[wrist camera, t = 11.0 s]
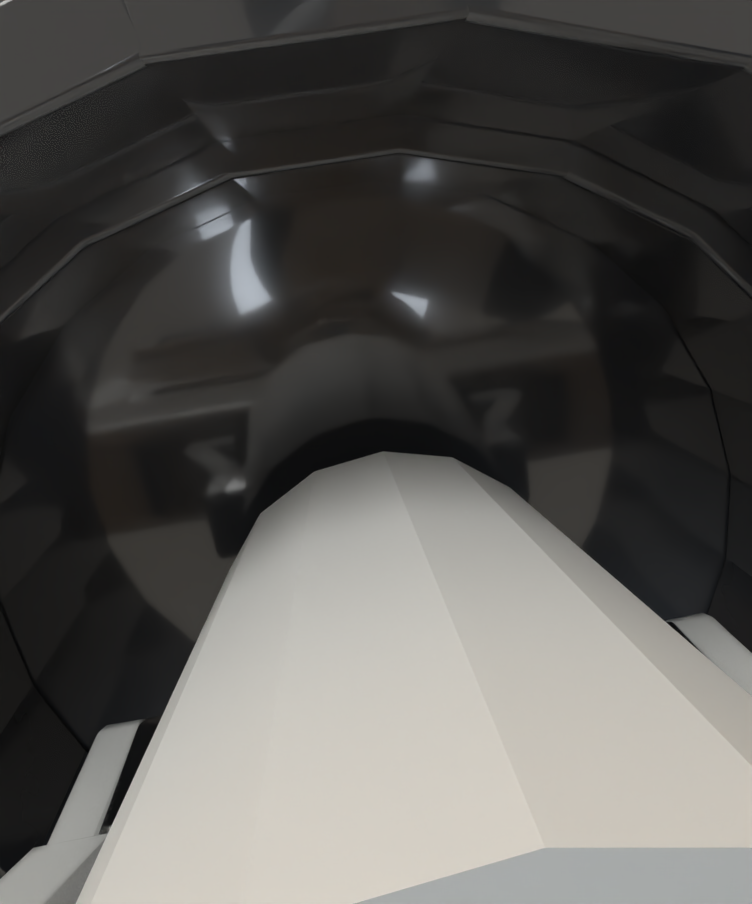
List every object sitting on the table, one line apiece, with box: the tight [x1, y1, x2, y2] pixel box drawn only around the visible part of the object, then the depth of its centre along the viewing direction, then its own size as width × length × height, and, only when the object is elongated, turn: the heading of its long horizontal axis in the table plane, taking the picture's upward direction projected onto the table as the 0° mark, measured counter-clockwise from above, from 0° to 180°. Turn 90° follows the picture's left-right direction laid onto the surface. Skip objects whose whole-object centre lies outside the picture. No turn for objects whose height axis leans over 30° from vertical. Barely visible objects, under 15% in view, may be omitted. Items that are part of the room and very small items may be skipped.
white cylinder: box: [76, 451, 752, 904], centre depth 7 cm, size 7×7×7 cm
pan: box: [0, 0, 752, 879], centre depth 9 cm, size 15×15×6 cm
